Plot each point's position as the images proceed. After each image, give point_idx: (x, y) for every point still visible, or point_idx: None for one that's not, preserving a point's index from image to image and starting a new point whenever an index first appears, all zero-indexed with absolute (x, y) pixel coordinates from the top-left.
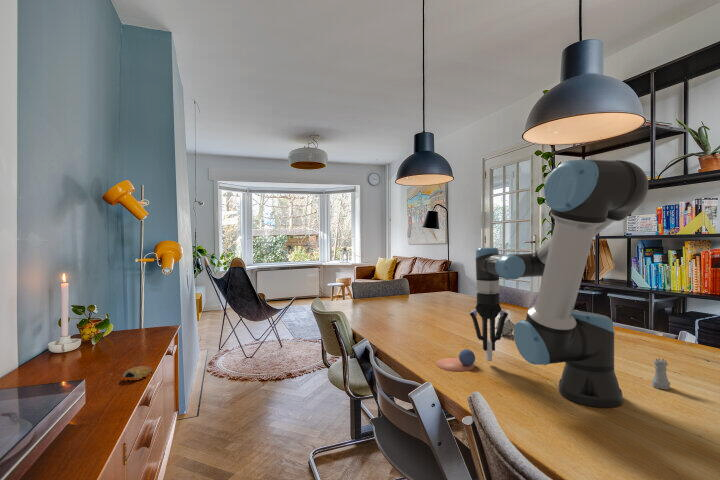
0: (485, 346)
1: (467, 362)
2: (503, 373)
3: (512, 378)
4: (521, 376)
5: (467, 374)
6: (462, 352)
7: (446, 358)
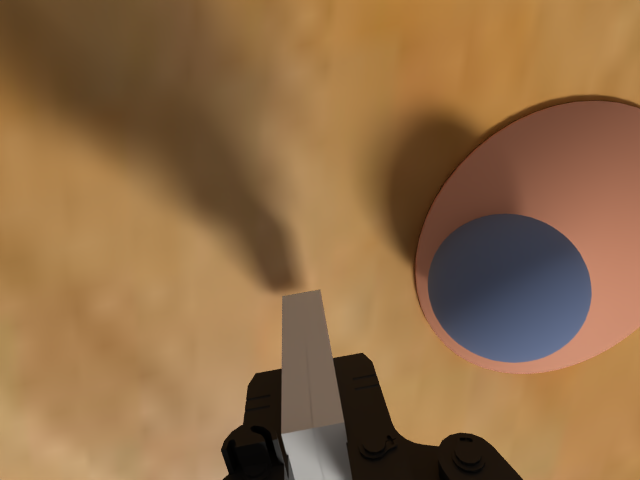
0: (358, 388)
1: (499, 214)
2: (196, 140)
3: (113, 24)
4: (38, 98)
5: (501, 44)
6: (585, 282)
7: (597, 349)
